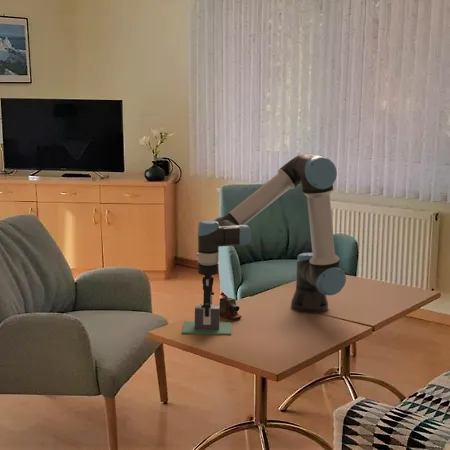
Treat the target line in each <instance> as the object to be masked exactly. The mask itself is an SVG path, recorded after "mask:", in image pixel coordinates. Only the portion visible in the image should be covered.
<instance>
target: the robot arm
mask: <svg viewBox="0 0 450 450" xmlns="http://www.w3.org/2000/svg"><path fill="white" fill-rule="evenodd" d="M337 175H338V172H337V168H336V165H335V163H334V162H333V161H332V160H331V159H329V158H328V157H325V156H324V155H319V154H314V153H313V154H312V153H308V152H305V153H300V154H298V155H296V156H294V157H293V158H291V159H290V160H289V161H287V163H285V164H284V165H282V166H281V167H280V168H279V169H278V170H277V174H276V175H274V176H273V177H272V178H270V179H269V180H267V181H266V182H265V183H264V184H263V185H262V186H260V187H259V188H258V189H257V190H255V192H253V193H252V194H250V195H249V196H248V197H247V198H245V199H244V200H243V201H242V202H240V203H239V204H238V205H237V206H235V207H234V208H233V209H231V211H228V213H226V214H225V215H224V216H219V217H216V218H215V219H212V220H210V219H209V220H207V219H206V220H202V221H200V222H199V223H198V227H197V253H196V254H195V255H196V257H198V258H197V262H198V264H197V273H198V274H199V275H201V276H202V291H203V305H201V308H203V325H211V305H213V296H214V295H215V292H213V286H214V281H215V279H214V277H213V276H214V275H218V274H219V261H220V260H219V259H220V257H219V255H220V253H219V252H220V250H219V249H220V247H233V246H234V247H235V246H236V247H237V246H246V245H249V244H250V242H251V240H252V232H251V228H250V227H249V225H248V224H247V223H249V222H250V221H251V220H253V219H254V218H255V217H257V216H258V215H259V214H260V213H261V212H262V211H264V210H265V209H266V208H267V207H269V206H270V205H271V204H273V202H274V203H275V201H276V200H278V199H279V198H280V197H281V196H283V194H285V193H287V192H288V191H289V190H295V188H297V187H299V186H301V193H302V194H303V195H304V196H306V201H307V210H308V211H307V212H308V221H309V229H310V242H311V252H303V253H300V254H298V255H297V261H296V279H295V280H296V283H295V284H296V285H295V291H294V293H293V295H292V296H293V297H292V298H291V302H290V303H291V305H290V308H291V309H292V310H294V311H296V312H298V313H299V312H301V313H306V314H319V313H321V314H322V313H324V312H326V311H328V310H329V301H328V299H327V298H328V297H327V296H335V295H337V294H339V293H340V292H341V291H342V289H344V287H345V285H346V282H347V275H346V273H345V271H344V270H343V269H342V268H341V261H340V257H339V256H338V255H337V254H336V249H335V241H334V240H335V239H334V228H333V226H334V225H333V218H332V206H331V196H330V195H331V193H332V192H333V191H334V183H335V181H336V180H337Z"/></svg>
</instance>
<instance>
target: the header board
mask: <svg viewBox="0 0 450 450" xmlns="http://www.w3.org/2000/svg"><path fill="white" fill-rule="evenodd" d="M232 322H233V321H232ZM232 322H230V321H229V322H227V321H226V322H225V321H219V330H215V329H195V321H186V320H185V321H184V322H183V326H182V330H181V334H182V335H214V336H215V335H216V336H217V335H218V336H232Z"/></svg>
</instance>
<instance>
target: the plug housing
mask: <svg viewBox="0 0 450 450" xmlns="http://www.w3.org/2000/svg"><path fill="white" fill-rule="evenodd" d="M201 305H203V304H201V303H200V304H198V303H196V304H195V306H194V322H195V329H215V330H219V322H220V305H219V304H212V305H211V325H203V308H201Z"/></svg>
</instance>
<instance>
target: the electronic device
mask: <svg viewBox="0 0 450 450" xmlns="http://www.w3.org/2000/svg"><path fill="white" fill-rule="evenodd" d="M218 302H219V304H218V305H220V316H221V317H224V318H227V319H230V320H232V322H233V321H239V320H240V319H242V318H243V316H242V315H241V314H239V313H238V311H239V310H240V306H239V305H237V303H236V302H237V301H236V299H235V298H231V297H221V298H219V301H218Z"/></svg>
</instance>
